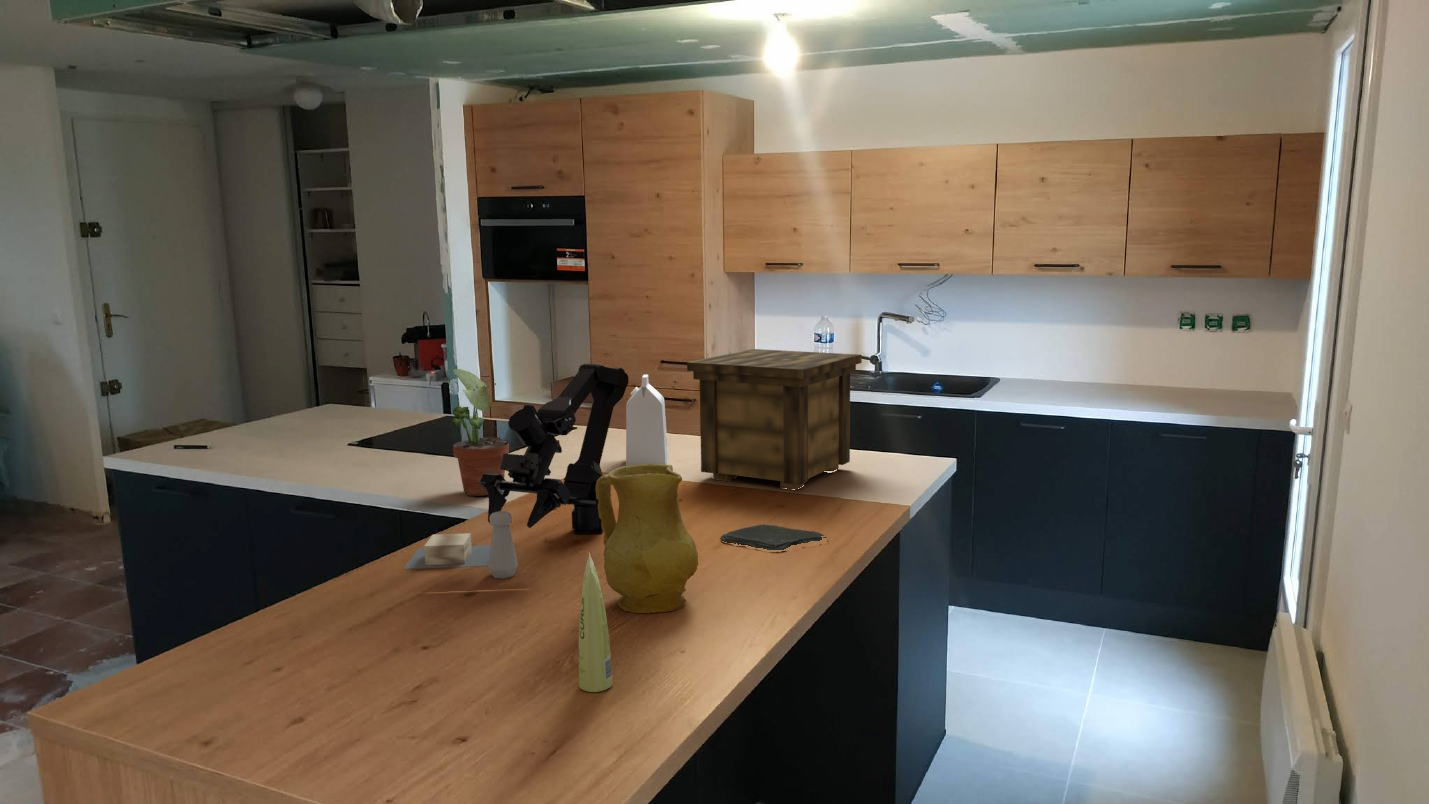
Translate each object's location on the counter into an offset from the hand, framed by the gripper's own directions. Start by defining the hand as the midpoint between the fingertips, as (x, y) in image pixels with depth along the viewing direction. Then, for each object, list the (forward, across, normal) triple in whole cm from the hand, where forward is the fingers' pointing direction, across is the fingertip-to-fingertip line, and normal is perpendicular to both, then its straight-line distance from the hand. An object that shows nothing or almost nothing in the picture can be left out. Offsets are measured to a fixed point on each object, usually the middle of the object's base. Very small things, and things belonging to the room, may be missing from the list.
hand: (508, 524), depth 198 cm
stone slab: (-20, +42, +34) cm, 58 cm away
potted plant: (-29, -44, +43) cm, 68 cm away
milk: (-62, -19, +76) cm, 100 cm away
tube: (+35, +42, -20) cm, 58 cm away
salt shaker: (+9, 0, +5) cm, 10 cm away
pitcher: (+10, +33, +4) cm, 35 cm away
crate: (-61, +22, +74) cm, 99 cm away
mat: (+4, -17, +10) cm, 20 cm away
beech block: (+5, -17, +8) cm, 20 cm away
